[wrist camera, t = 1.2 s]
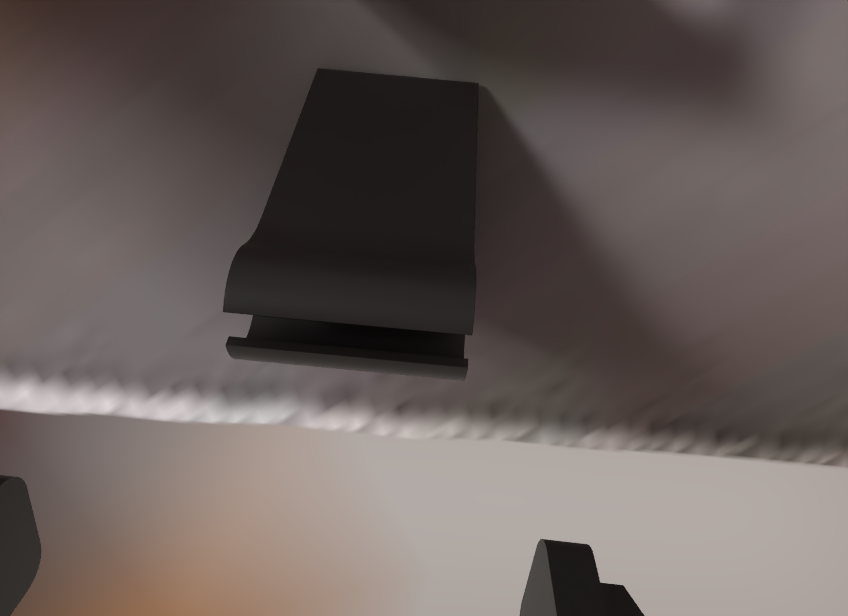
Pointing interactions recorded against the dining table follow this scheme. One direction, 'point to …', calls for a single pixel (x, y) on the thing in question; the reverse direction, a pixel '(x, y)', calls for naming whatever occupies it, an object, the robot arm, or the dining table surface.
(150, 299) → the dining table surface
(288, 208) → the phone stand
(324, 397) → the dining table surface
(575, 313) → the dining table surface
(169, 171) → the dining table surface
